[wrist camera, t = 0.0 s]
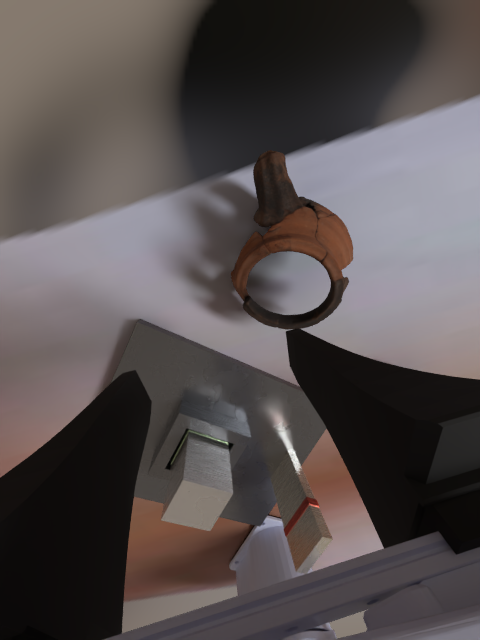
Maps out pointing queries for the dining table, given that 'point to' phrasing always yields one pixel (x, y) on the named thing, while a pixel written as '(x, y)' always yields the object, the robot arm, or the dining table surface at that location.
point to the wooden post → (198, 481)
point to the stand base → (230, 432)
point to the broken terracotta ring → (292, 241)
